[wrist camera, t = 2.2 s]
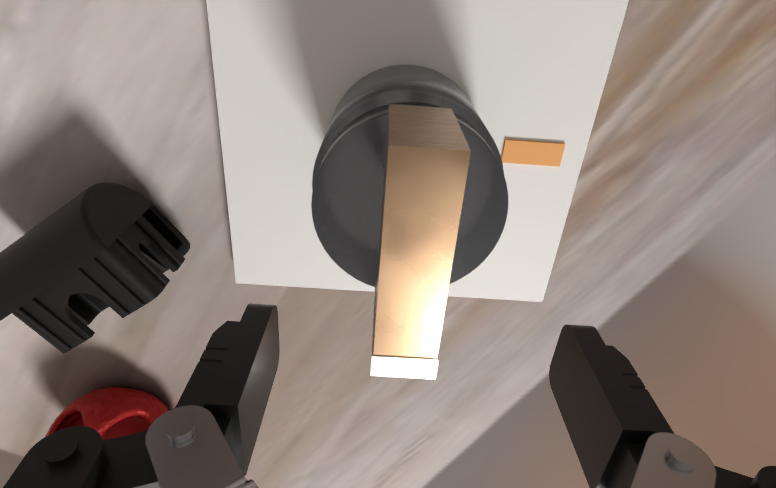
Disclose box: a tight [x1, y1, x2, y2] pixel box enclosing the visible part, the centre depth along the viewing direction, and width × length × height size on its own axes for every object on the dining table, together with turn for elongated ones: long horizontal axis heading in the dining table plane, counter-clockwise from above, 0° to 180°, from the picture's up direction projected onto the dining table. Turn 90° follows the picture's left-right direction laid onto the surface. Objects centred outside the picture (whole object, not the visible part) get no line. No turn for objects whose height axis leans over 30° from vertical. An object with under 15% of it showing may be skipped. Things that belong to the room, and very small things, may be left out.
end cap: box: [0, 183, 190, 353], centre depth 31 cm, size 10×7×7 cm
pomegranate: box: [46, 387, 168, 440], centre depth 39 cm, size 10×10×9 cm
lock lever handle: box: [311, 102, 508, 379], centre depth 19 cm, size 9×8×7 cm
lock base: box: [206, 0, 629, 302], centre depth 26 cm, size 22×22×9 cm
